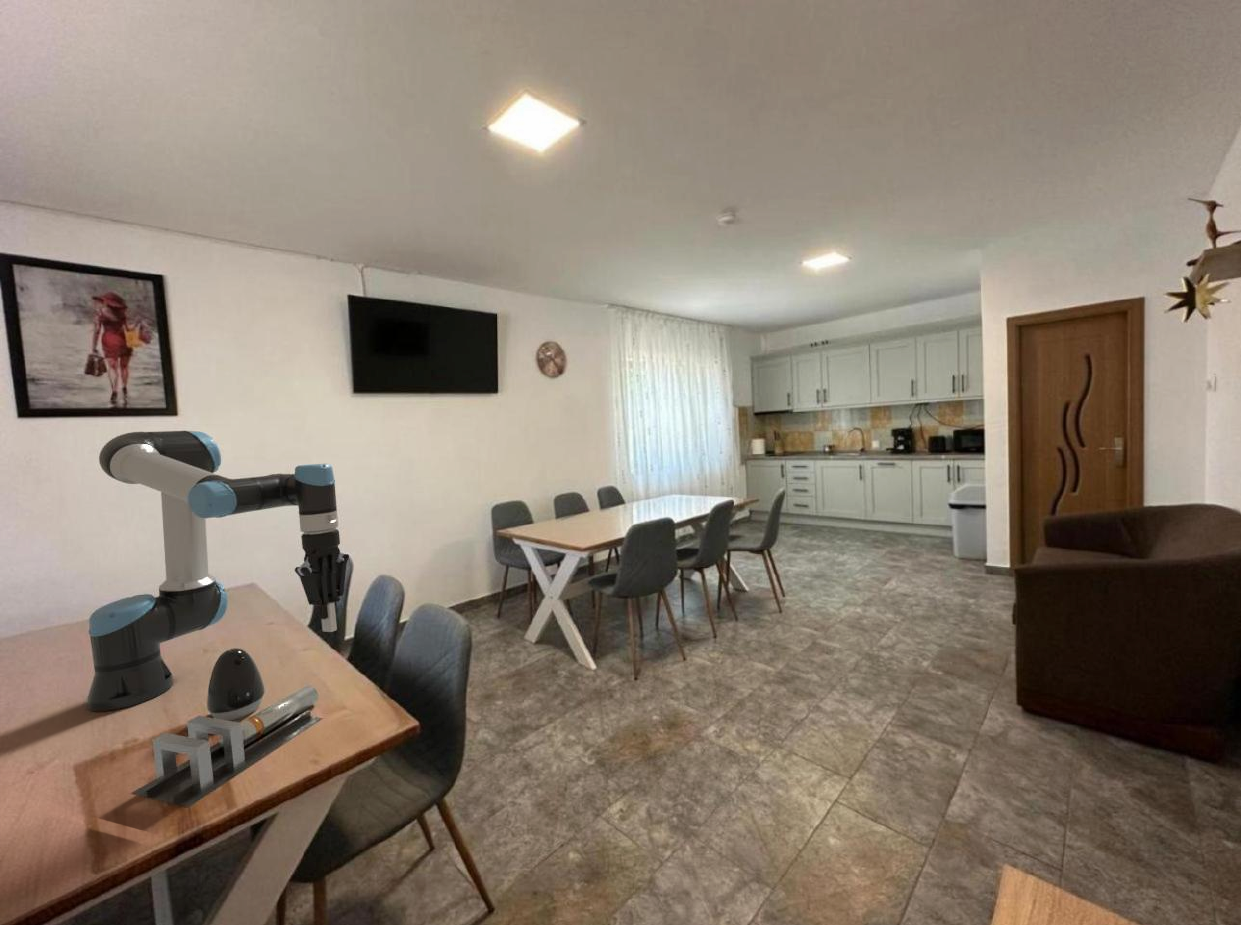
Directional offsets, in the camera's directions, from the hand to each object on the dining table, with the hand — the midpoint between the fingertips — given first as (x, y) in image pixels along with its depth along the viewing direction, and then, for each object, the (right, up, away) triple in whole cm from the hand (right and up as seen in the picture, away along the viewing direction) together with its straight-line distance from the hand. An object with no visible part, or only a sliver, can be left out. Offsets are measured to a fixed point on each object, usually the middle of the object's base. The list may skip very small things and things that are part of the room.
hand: (329, 630), depth 117 cm
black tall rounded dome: (-17, -17, -5) cm, 25 cm away
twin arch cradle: (-6, -18, -20) cm, 28 cm away
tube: (-4, -16, -13) cm, 21 cm away
